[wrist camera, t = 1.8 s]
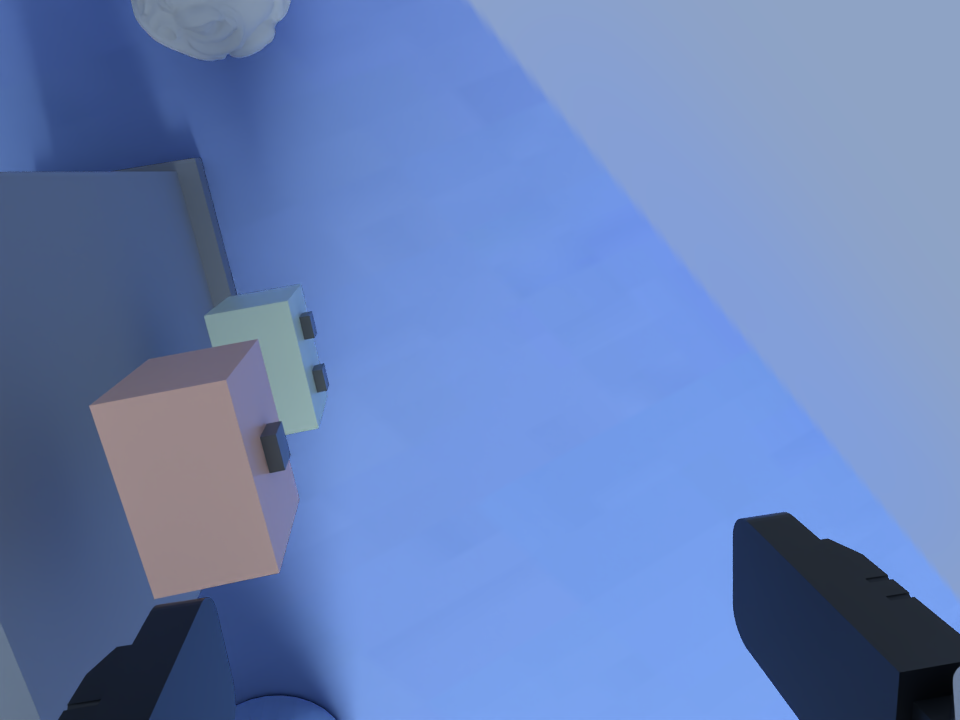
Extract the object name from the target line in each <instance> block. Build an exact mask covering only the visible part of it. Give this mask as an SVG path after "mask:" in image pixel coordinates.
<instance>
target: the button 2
mask: <svg viewBox="0 0 960 720" xmlns="http://www.w3.org/2000/svg"><path fill="white" fill-rule="evenodd" d="M204 319H205V322H206V326H207V330H208V333H209V337H210V340H211V344H212V347H217V346H222V345H228V344H233V343H239V342H244V341H249V340H255V339H258V341H259V345H260V348H261V352H262V356H263V360H264V364H265V368H266V372H267V376H268V379H269V383H270V387H271V391H272V395H273V399H274V403H275V406H276V410H277V414H278V418H279V421H282V424H283V428H284V432H285V435H287V434H293V433H298V432H303V431H308V430H313V429H318V428H319V425H320V422H321V418H322V414H323V411H324V407H325V403H326V400H327V392H326V391H327V389H328V386H329V382H328V378H327V374H326V370H325V365H324V364H320V362H319V358H318V354H317V350H316V345H315V341H314V338H315V336H316V334H317V331H316V327H315V322H314V318H313V314H312V311H310V312H308V311H307V307H306V303H305V299H304V294H303V290H302V286H301V284H296V285H291V286H285V287H280V288H274V289H268V290H263V291H257V292H252V293H246V294H240V295H235V296H229V297H227V298H226V299H225V300H223V301H222V302H221V303H220V304H218V305H217V306H216V307H214V308H213V309H212V310H211V311H209V312H208V313H207V314H206V315H204Z"/></svg>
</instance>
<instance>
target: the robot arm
mask: <svg viewBox="0 0 960 720" xmlns="http://www.w3.org/2000/svg"><path fill="white" fill-rule="evenodd" d="M733 611H734V617H735V621H736V625H737V628H738V631H739V634H740V636H741V639H742V641H743V643H744V645H745V646H746V648H747V649H748V651H749V652H750V653H751V655H752V656H753V658H754V659H755V660H756V662H757V663H758V664H759V666H760V667H761V668H762V670H763V671H764V672H765V674H766V675H767V677H768V678H769V679H770V681H771V682H772V683H773V685H774V686H775V687H776V689H777V690H778V691H779V693H780V694H781V696H782V697H783V698H784V700H785V701H786V702H787V704H788V705H789V706H790V708H791V709H792V710H793V712H794V713H795V715H796V716H797V717H798V719H799V720H960V634H959V633H958V632H957V631H955V630H954V629H953V628H952V627H950V626H949V625H948V624H947V623H946V622H944V621H943V620H942V619H941V618H939V617H938V616H937V615H936V614H935V613H933V612H932V611H931V610H930V609H929V608H927V607H926V606H925V605H924V604H922V603H921V602H920V601H919V600H918V599H916V598H915V597H912V598H911V597H910V595H909V592H908V591H907V590H905V589H904V588H903V587H902V586H900V585H899V584H898V583H897V582H896V581H894V580H893V579H891V580H889V578H888V575H887V574H886V573H885V572H883V571H882V570H881V569H880V568H878V567H877V566H876V565H875V564H874V563H872V562H871V561H870V560H869V559H867V558H866V557H865V556H864V555H863V554H861V553H858V552H856V551H854V550H852V549H850V548H848V547H845V546H843V545H841V544H839V543H837V542H834V541H832V540H830V539H822V540H820V539H819V538H818V537H817V536H815V535H814V534H813V533H812V532H811V531H810V530H808V529H807V528H806V527H805V526H804V525H803V524H802V523H800V522H799V521H798V520H797V519H796V518H795V517H793V516H792V515H791V514H789V513H787V512H781V513H775V514H768V515H761V516H755V517H748V518H741V519H738V520H737V521H736V523H735V525H734V529H733ZM67 706H68V708H67V710H65V711H63V712H62V714H61V716H60V717H59V719H58V720H336V719H335V718H334V717H333V716H332V715H331V714H329V713H328V712H327V711H326V710H325V709H323V708H322V707H320V706H318V705H316V704H314V703H313V702H310V701H307V700H304V699H301V698H298V697H291V696H283V695H279V696H264V697H260V698H255V699H251V700H248V701H246V702H243V703H241V704H239V705H236V703H235V689H234V683H233V679H232V674H231V670H230V666H229V661H228V657H227V653H226V648H225V644H224V639H223V635H222V631H221V626H220V622H219V618H218V613H217V610H216V607H215V604H214V602H213V601H212V599H211V598H209V597H206V598H199V599H193V600H186V601H179V602H173V603H166V604H159V605H156V606H154V607H153V608H152V610H151V611H150V613H149V615H148V617H147V618H146V620H145V622H144V624H143V625H142V627H141V629H140V631H139V633H138V634H137V636H136V638H135V640H134V642H133V643H132V645H125V646H119V647H116V648H115V649H114V650H113V651H112V652H110V653H109V654H108V655H107V656H106V657H105V658H104V659H103V660H101V661H100V662H99V663H98V664H97V665H96V666H95V667H94V668H93V669H91V670H90V671H89V672H88V673H87V674H86V675H85V677H84V678H83V680H82V682H81V683H80V685H79V686H78V688H77V690H76V691H75V693H74V695H73V696H72V698H71V699H70V701H69V703H68V704H67Z"/></svg>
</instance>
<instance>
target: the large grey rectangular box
mask: <svg viewBox="0 0 960 720" xmlns="http://www.w3.org/2000/svg"><path fill="white" fill-rule="evenodd" d="M235 295H237V294H236V290H235V286H234V282H233V279H232V275H231V271H230V267H229V263H228V260H227V256H226V252H225V248H224V244H223V240H222V237H221V233H220V229H219V225H218V221H217V218H216V214H215V210H214V206H213V202H212V199H211V195H210V191H209V187H208V183H207V180H206V176H205V172H204V168H203V164H202V160H201V158H190V159H184V160H178V161H172V162H165V163H159V164H153V165H147V166H141V167H135V168H129V169H123V170H116V171H110V172H0V720H58V719H59V717H60V716H61V714H62V712H63V711H65V710H67V708H68V706H67V704H68V703H69V701H70V699H71V698H72V696H73V695H74V693H75V691H76V690H77V688H78V686H79V685H80V683H81V682H82V680H83V678H84V677H85V675H86V674H87V673H88V672H89V671H90V670H91V669H93V668H94V667H95V666H96V665H97V664H98V663H99V662H100V661H101V660H103V659H104V658H105V657H106V656H107V655H108V654H109V653H110V652H112V651H113V650H114V649H115V648H116V647H119V646H125V645H132V643H133V642H134V640H135V638H136V636H137V634H138V633H139V631H140V629H141V627H142V625H143V624H144V622H145V620H146V618H147V617H148V615H149V613H150V611H151V610H152V608H153V607H154V606H156V605H159V604H166V603H173V602H179V601H186V600H193V599H197V598H198V596H199V594H200V592H201V590H202V589H201V590H196V591H191V592H186V593H182V594H177V595H172V596H168V597H163V598H158V599H154V597H153V594H152V591H151V588H150V585H149V582H148V579H147V576H146V573H145V570H144V567H143V564H142V561H141V558H140V555H139V552H138V549H137V546H136V543H135V540H134V537H133V534H132V531H131V528H130V526H129V523H128V520H127V517H126V514H125V511H124V508H123V505H122V502H121V499H120V496H119V493H118V490H117V487H116V484H115V481H114V478H113V475H112V472H111V469H110V466H109V463H108V460H107V457H106V454H105V451H104V449H103V446H102V443H101V440H100V437H99V434H98V431H97V428H96V425H95V422H94V419H93V416H92V413H91V410H90V407H89V405H91V404H92V403H93V402H94V401H96V400H97V399H98V398H100V397H101V396H102V395H103V394H105V393H106V392H107V391H109V390H110V389H111V388H112V387H114V386H115V385H116V384H117V383H119V382H120V381H121V380H123V379H124V378H125V377H126V376H128V375H129V374H130V373H131V372H133V371H134V370H135V369H137V368H138V367H139V366H140V365H142V364H143V363H144V362H146V361H147V360H148V359H152V358H157V357H163V356H168V355H174V354H179V353H184V352H190V351H195V350H201V349H206V348H211V347H212V344H211V340H210V337H209V333H208V330H207V326H206V322H205V319H204V315H206V314H207V313H208V312H209V311H211V310H212V309H213V308H214V307H216V306H217V305H218V304H220V303H221V302H222V301H223V300H225V299H226V298H227V297H229V296H235Z"/></svg>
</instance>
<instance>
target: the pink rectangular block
mask: <svg viewBox="0 0 960 720" xmlns="http://www.w3.org/2000/svg"><path fill="white" fill-rule="evenodd" d="M89 407H90V410H91V413H92V416H93V419H94V422H95V425H96V428H97V431H98V434H99V437H100V440H101V443H102V446H103V449H104V451H105V454H106V457H107V460H108V463H109V466H110V469H111V472H112V475H113V478H114V481H115V484H116V487H117V490H118V493H119V496H120V499H121V502H122V505H123V508H124V511H125V514H126V517H127V520H128V523H129V526H130V528H131V531H132V534H133V537H134V540H135V543H136V546H137V549H138V552H139V555H140V558H141V561H142V564H143V567H144V570H145V573H146V576H147V579H148V582H149V585H150V588H151V591H152V594H153V597H154V599H158V598H163V597H168V596H172V595H177V594H182V593H186V592H191V591H196V590H201V589H205V588H210V587H215V586H220V585H224V584H229V583H234V582H239V581H243V580H248V579H253V578H258V577H262V576H267V575H272V574H277V573H280V569H281V565H282V562H283V558H284V554H285V551H286V547H287V543H288V540H289V536H290V532H291V529H292V525H293V521H294V517H295V514H296V510H297V506H298V503H299V495H298V492H297V488H296V484H295V480H294V476H293V472H292V468H291V465H290V461H289V458H290V451H289V448H288V444H287V440H286V436H285V432H284V428H283V424H282V421H279V418H278V414H277V410H276V406H275V403H274V399H273V395H272V391H271V387H270V383H269V379H268V376H267V372H266V368H265V364H264V360H263V356H262V352H261V348H260V345H259V341H258V339H255V340H249V341H244V342H239V343H233V344H228V345H222V346H217V347H211V348H206V349H201V350H195V351H190V352H184V353H179V354H174V355H168V356H163V357H157V358H152V359H148V360H147V361H146V362H144V363H143V364H142V365H140V366H139V367H138V368H137V369H135V370H134V371H133V372H131V373H130V374H129V375H128V376H126V377H125V378H124V379H123V380H121V381H120V382H119V383H117V384H116V385H115V386H114V387H112V388H111V389H110V390H109V391H107V392H106V393H105V394H103V395H102V396H101V397H100V398H98V399H97V400H96V401H94V402H93V403H92V404H91V405H89Z"/></svg>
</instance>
